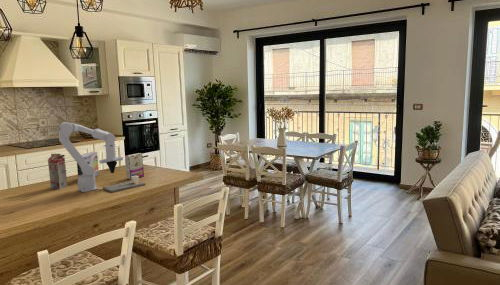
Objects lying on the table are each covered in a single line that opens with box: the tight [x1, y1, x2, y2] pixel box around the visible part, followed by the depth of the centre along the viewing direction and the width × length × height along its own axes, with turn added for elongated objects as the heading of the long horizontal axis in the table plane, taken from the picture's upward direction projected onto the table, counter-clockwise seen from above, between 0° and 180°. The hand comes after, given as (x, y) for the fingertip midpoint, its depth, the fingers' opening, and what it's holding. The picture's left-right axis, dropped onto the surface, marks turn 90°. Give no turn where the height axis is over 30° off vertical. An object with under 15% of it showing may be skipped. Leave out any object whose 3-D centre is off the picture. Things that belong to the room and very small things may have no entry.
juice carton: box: [47, 153, 68, 190], centre depth 226 cm, size 7×7×22 cm
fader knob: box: [130, 176, 140, 183], centre depth 230 cm, size 3×4×4 cm
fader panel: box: [102, 180, 146, 194], centre depth 225 cm, size 22×12×1 cm, turn 136°
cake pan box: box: [76, 151, 100, 179], centre depth 248 cm, size 19×5×18 cm, turn 171°
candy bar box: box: [124, 152, 145, 180], centre depth 249 cm, size 11×5×16 cm, turn 143°
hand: (112, 172), depth 228 cm, fingers closed
